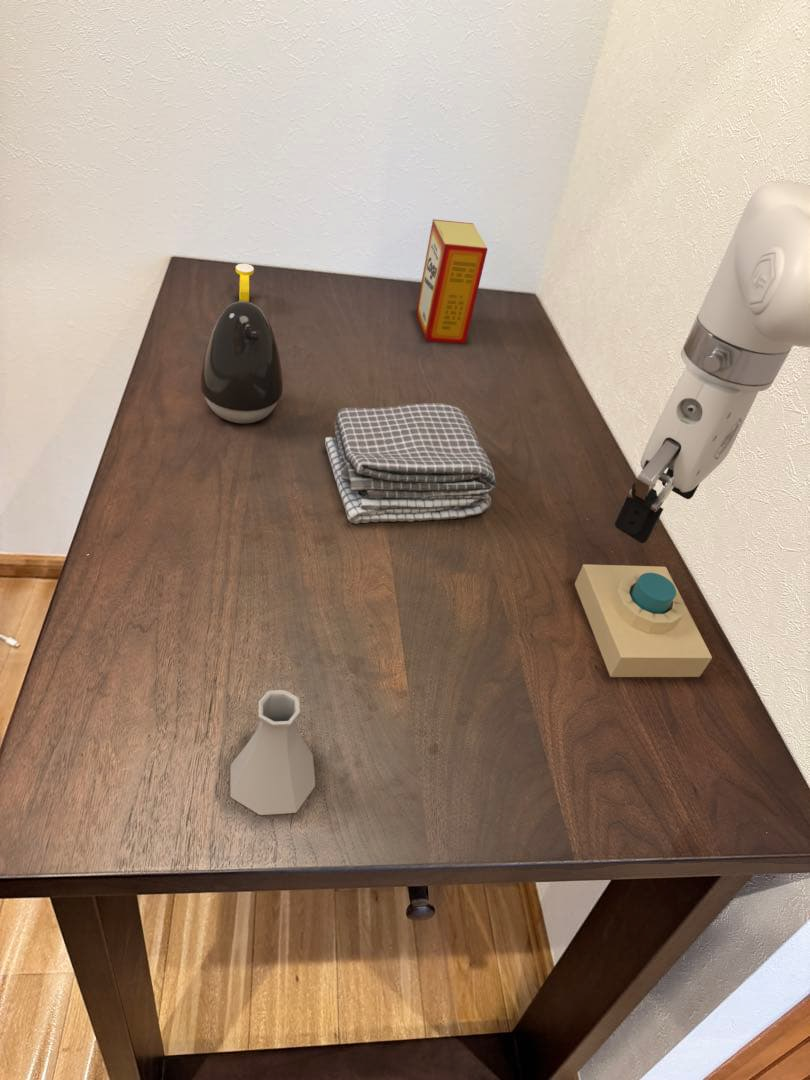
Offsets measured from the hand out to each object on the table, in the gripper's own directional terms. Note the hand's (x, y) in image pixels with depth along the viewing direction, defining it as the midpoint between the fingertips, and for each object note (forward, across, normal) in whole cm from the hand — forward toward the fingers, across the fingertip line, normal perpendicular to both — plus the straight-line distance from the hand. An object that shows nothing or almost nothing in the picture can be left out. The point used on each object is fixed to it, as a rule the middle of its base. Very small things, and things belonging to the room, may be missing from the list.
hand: (654, 511), depth 74 cm
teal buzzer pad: (+16, +2, -3) cm, 16 cm away
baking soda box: (+16, +37, +52) cm, 66 cm away
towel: (+16, +1, +29) cm, 34 cm away
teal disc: (+11, +2, -3) cm, 12 cm away
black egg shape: (+16, -5, +52) cm, 55 cm away
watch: (+16, +15, +75) cm, 78 cm away
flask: (+16, -38, +10) cm, 42 cm away
